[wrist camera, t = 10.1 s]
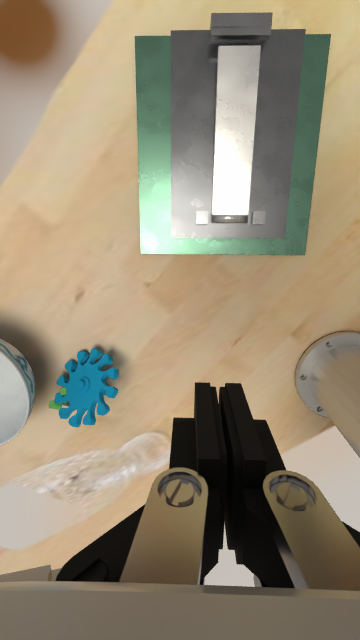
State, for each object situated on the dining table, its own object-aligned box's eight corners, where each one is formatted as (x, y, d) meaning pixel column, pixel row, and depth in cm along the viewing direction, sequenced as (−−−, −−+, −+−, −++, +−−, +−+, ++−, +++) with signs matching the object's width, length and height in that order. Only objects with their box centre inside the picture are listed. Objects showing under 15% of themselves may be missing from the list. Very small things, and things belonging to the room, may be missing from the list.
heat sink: (328, 37, 32) (369, -20, 24) (303, 254, 38) (329, 260, 31) (135, 39, 32) (120, -17, 25) (141, 253, 38) (130, 258, 31)
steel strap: (258, 50, 27) (260, 44, 26) (246, 223, 32) (247, 223, 31) (217, 51, 27) (218, 45, 26) (211, 222, 32) (211, 222, 31)
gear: (106, 334, 40) (117, 410, 35) (133, 347, 45) (145, 416, 40) (44, 366, 43) (45, 440, 38) (75, 375, 48) (79, 441, 43)
